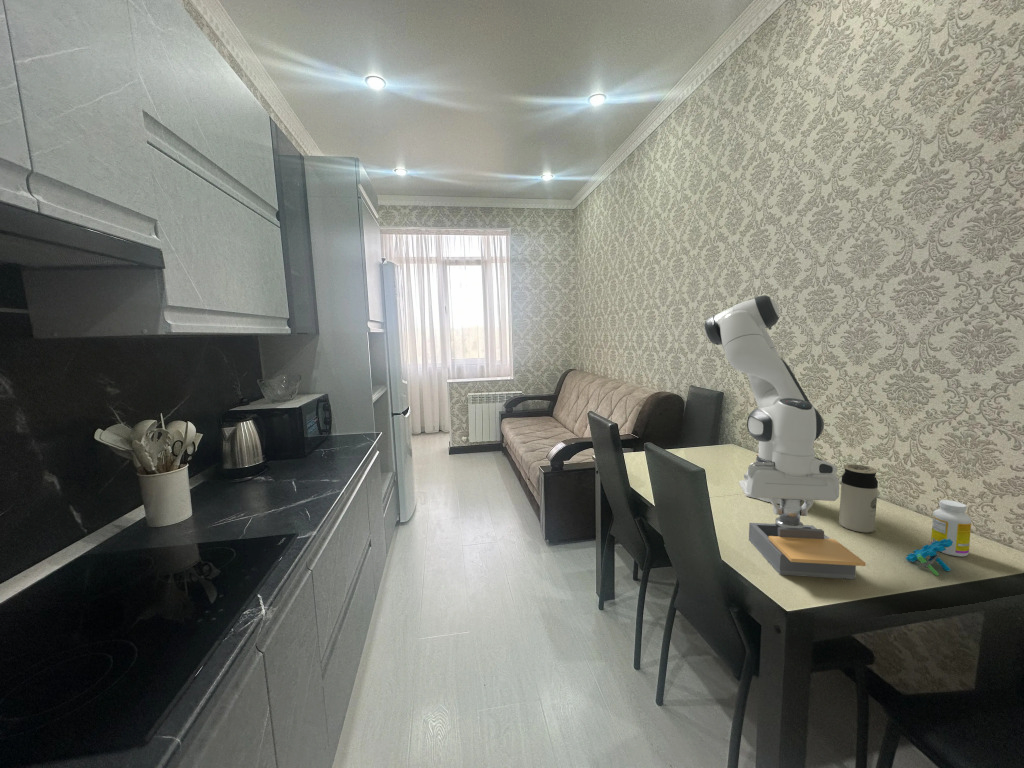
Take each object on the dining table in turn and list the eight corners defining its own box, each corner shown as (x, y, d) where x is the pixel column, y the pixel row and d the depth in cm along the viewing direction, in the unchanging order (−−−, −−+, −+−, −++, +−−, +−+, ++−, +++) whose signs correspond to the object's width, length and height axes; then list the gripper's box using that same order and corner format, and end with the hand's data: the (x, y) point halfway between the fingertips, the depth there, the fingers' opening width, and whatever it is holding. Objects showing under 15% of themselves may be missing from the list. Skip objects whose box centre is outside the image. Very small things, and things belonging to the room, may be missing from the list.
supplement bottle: (968, 551, 103) (972, 503, 102) (968, 560, 99) (973, 510, 97) (930, 542, 108) (934, 496, 107) (929, 550, 104) (933, 503, 102)
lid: (766, 537, 102) (767, 526, 102) (831, 540, 100) (832, 529, 99) (791, 561, 90) (791, 550, 90) (865, 566, 88) (866, 554, 88)
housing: (748, 539, 111) (749, 522, 111) (811, 542, 109) (812, 525, 108) (779, 574, 95) (780, 554, 94) (854, 579, 92) (856, 558, 92)
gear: (914, 545, 103) (954, 531, 96) (936, 567, 100) (979, 555, 93) (894, 562, 99) (934, 549, 91) (916, 586, 96) (960, 574, 88)
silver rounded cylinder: (782, 531, 101) (783, 501, 100) (771, 520, 107) (772, 492, 106) (808, 532, 100) (810, 502, 99) (795, 522, 106) (797, 493, 105)
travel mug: (832, 523, 120) (835, 465, 118) (850, 519, 122) (854, 462, 120) (862, 535, 112) (866, 473, 111) (881, 530, 115) (885, 470, 113)
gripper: (753, 464, 101) (751, 517, 102) (845, 467, 97) (841, 522, 98) (743, 457, 107) (741, 507, 108) (829, 460, 103) (826, 511, 105)
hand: (790, 514), depth 103 cm, fingers closed on silver rounded cylinder, 4 cm apart
